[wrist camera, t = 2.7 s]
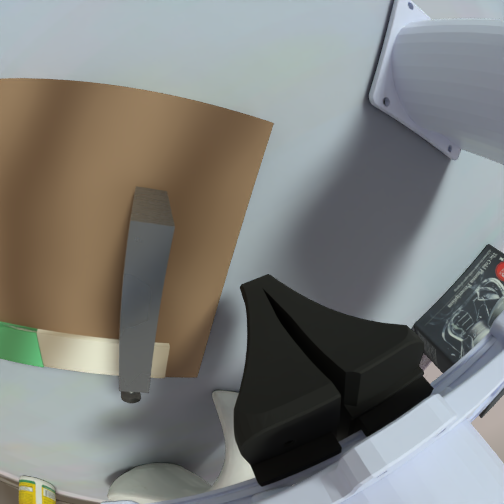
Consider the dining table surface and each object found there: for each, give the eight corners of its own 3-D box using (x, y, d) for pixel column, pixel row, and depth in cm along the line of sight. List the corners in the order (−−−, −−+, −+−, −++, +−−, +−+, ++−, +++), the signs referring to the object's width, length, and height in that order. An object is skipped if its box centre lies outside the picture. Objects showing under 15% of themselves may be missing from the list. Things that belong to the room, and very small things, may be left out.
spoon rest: (182, 488, 29) (195, 532, 23) (96, 479, 23) (103, 530, 17) (291, 394, 23) (328, 459, 18) (163, 373, 18) (183, 472, 12)
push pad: (167, 191, 11) (174, 226, 8) (139, 377, 14) (146, 431, 11) (135, 186, 10) (130, 220, 7) (118, 376, 14) (121, 430, 11)
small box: (488, 239, 24) (567, 296, 14) (486, 276, 28) (551, 329, 18) (411, 324, 25) (491, 406, 15) (417, 350, 29) (481, 420, 19)
